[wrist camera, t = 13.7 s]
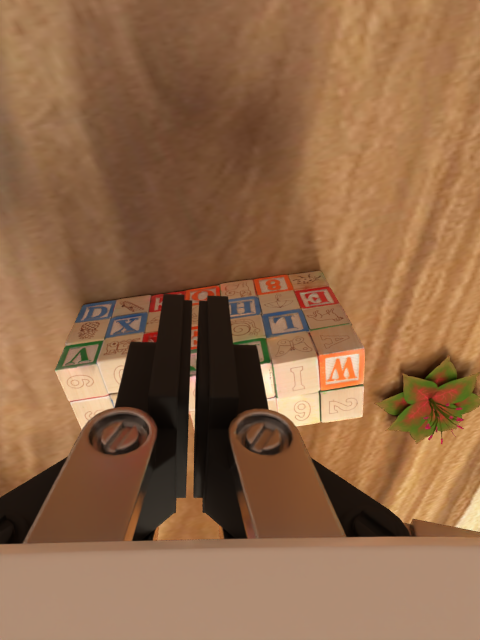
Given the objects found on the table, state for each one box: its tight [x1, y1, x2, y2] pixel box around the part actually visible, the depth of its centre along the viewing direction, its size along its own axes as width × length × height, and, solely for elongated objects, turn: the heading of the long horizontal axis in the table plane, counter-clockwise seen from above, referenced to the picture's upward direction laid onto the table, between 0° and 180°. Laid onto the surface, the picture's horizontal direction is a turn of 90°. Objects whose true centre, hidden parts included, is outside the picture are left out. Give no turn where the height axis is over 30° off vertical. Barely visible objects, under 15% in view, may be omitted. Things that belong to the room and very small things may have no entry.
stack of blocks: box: [55, 271, 365, 432], centre depth 35 cm, size 21×6×12 cm, turn 97°
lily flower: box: [375, 356, 480, 444], centre depth 46 cm, size 12×12×5 cm
